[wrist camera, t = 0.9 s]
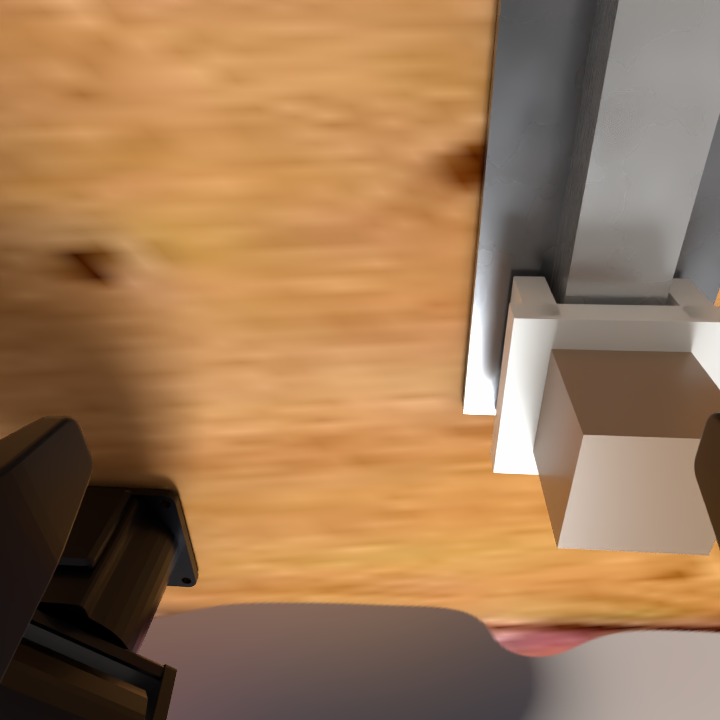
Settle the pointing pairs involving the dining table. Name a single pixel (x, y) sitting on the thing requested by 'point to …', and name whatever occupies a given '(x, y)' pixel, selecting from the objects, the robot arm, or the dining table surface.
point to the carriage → (611, 415)
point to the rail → (539, 176)
